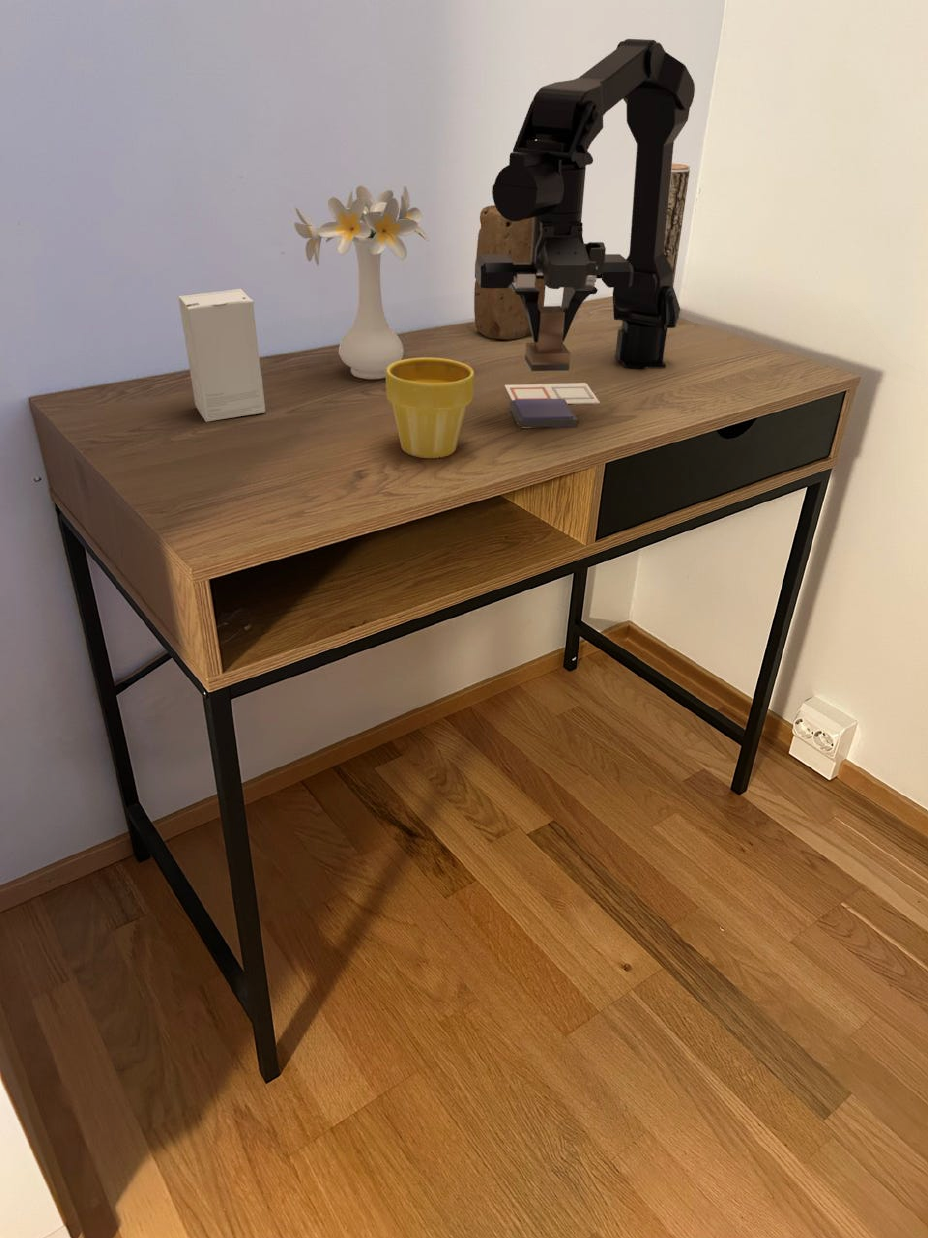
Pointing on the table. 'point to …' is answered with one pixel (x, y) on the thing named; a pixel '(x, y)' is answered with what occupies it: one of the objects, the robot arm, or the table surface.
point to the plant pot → (429, 403)
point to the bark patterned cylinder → (675, 212)
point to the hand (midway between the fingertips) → (548, 341)
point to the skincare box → (223, 353)
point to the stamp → (548, 342)
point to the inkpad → (542, 413)
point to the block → (500, 306)
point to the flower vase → (367, 270)
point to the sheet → (554, 392)
